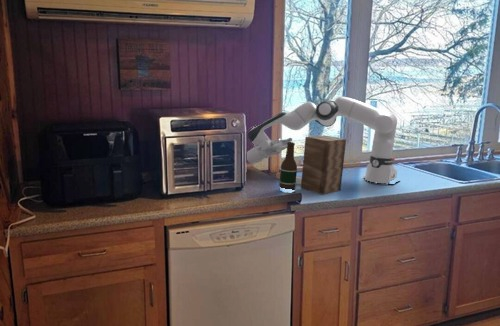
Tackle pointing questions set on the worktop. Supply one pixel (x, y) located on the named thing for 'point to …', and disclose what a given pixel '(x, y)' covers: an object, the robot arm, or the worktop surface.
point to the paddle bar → (298, 179)
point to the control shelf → (323, 164)
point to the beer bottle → (288, 169)
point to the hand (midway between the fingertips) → (285, 139)
